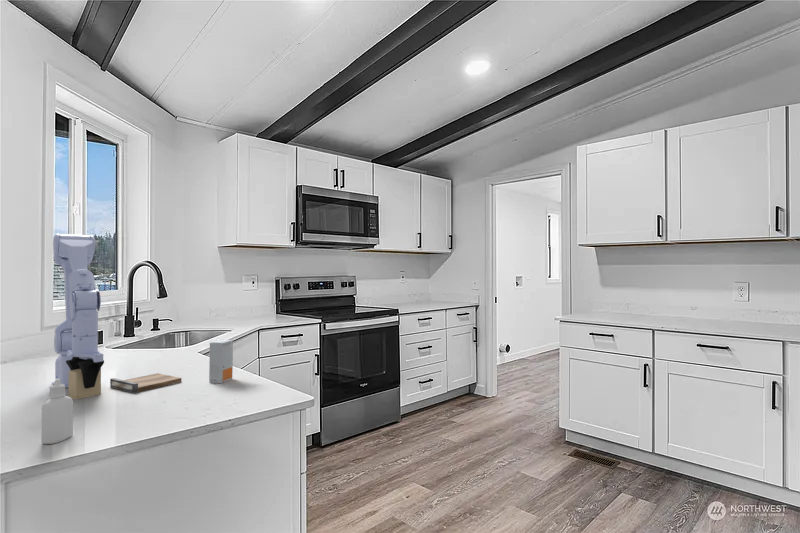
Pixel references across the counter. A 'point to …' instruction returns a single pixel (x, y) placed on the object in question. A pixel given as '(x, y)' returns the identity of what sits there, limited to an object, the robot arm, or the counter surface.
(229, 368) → the skincare box
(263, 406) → the counter surface
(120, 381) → the tan tray
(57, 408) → the eye dropper bottle
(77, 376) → the box
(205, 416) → the counter surface
